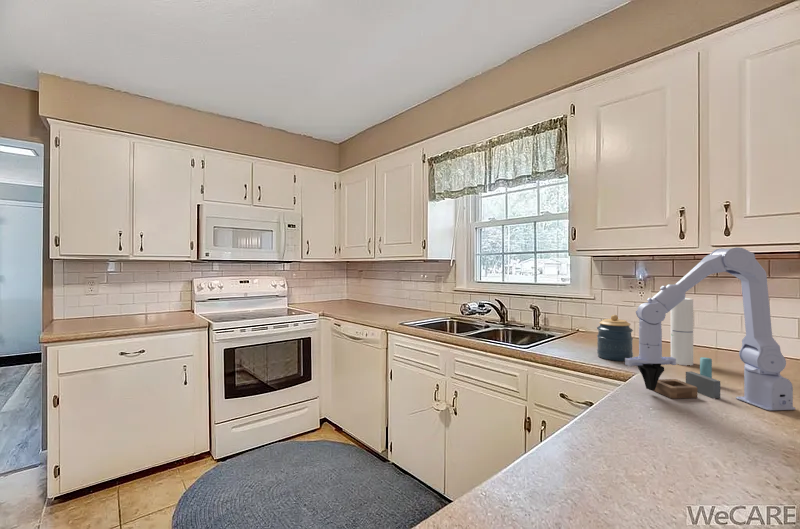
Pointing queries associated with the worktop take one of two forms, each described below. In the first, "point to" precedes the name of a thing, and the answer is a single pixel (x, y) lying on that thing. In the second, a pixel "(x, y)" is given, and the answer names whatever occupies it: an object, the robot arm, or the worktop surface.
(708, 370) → the dowel
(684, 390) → the brown square frame
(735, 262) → the robot arm
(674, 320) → the cylindrical container
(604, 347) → the canister
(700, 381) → the board
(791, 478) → the worktop surface
